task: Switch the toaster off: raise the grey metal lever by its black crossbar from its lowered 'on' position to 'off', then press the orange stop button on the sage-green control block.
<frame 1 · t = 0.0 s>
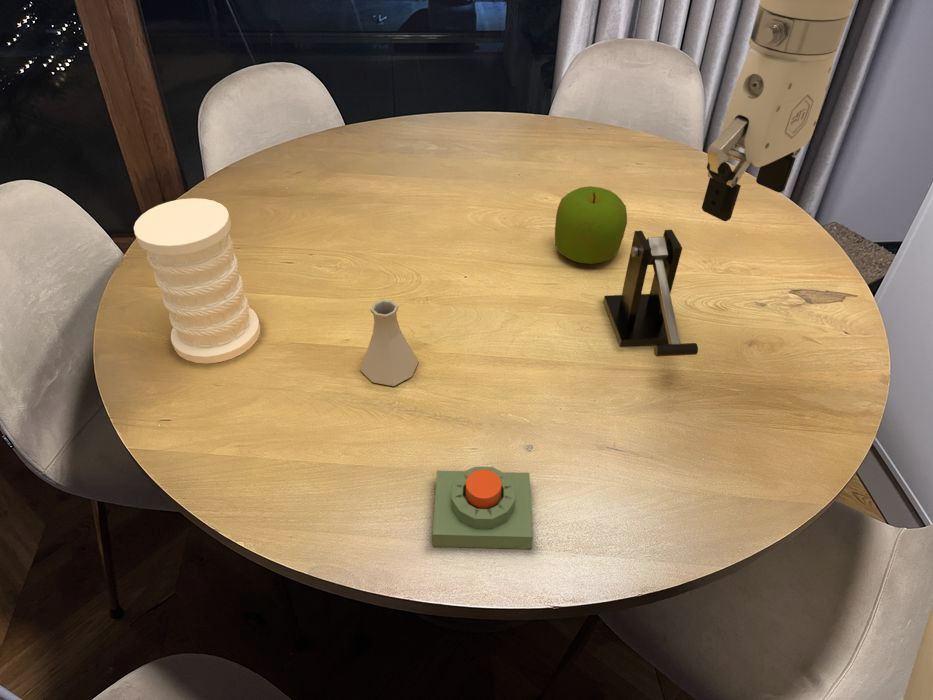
hand: (743, 200, 72), 25 cm above the table, tool pointing down, fingers open, 9 cm apart
decorative container: (217, 336, 93), on the table
button block: (482, 514, 72), on the table
switch bracket: (638, 322, 96), on the table
flask: (389, 368, 88), on the table
stop button: (483, 488, 69), point 4 cm above the table, slide at 0.1 cm
lever: (664, 296, 85), point 9 cm above the table, hinge at -25.0°
apple: (586, 253, 109), on the table
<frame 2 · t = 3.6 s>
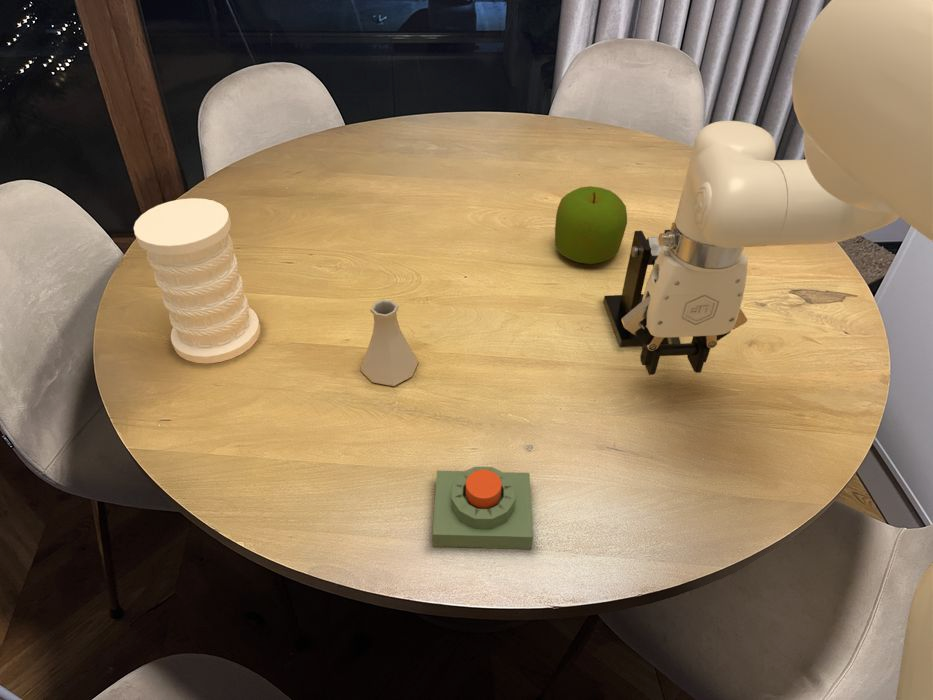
hand: (671, 365, 84), 4 cm above the table, tool pointing down, fingers closed on lever, 5 cm apart
lever: (664, 296, 85), point 9 cm above the table, hinge at -25.0°, touching gripper
everything else where it was.
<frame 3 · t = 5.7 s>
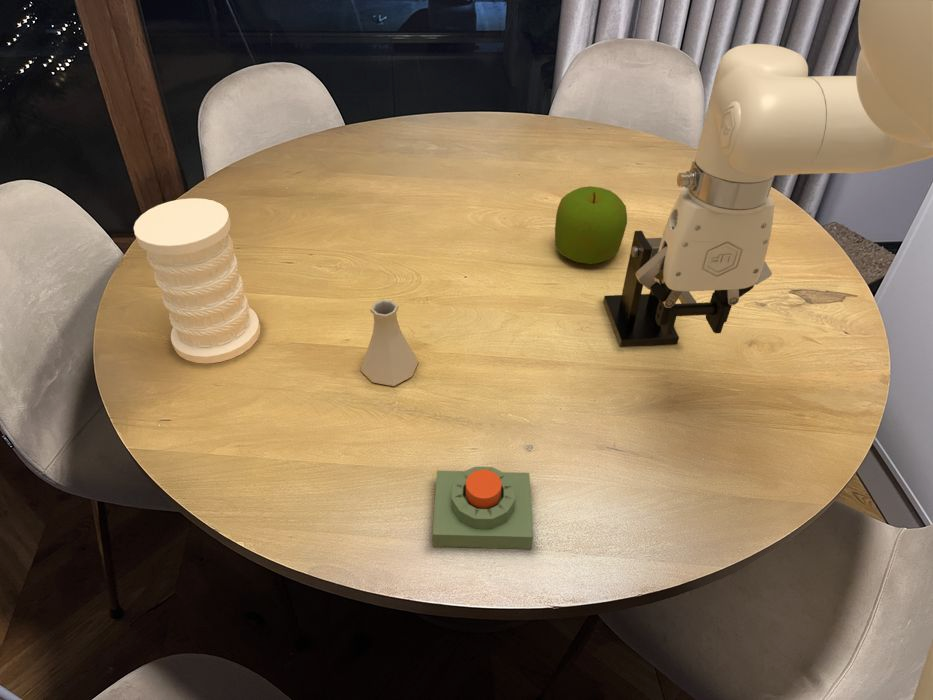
hand: (688, 325, 78), 11 cm above the table, tool pointing down, fingers closed on lever, 5 cm apart
lever: (672, 276, 82), point 13 cm above the table, hinge at 5.5°, touching gripper
everything else where it was.
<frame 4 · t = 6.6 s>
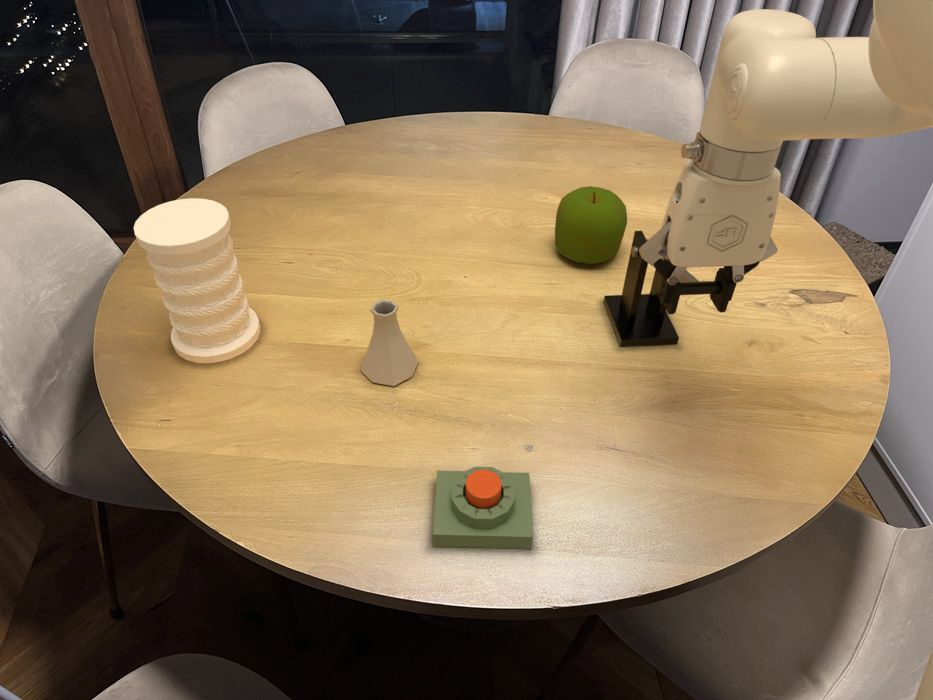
hand: (692, 304, 77), 14 cm above the table, tool pointing down, fingers closed on lever, 5 cm apart
lever: (673, 267, 82), point 14 cm above the table, hinge at 16.3°, touching gripper
everything else where it was.
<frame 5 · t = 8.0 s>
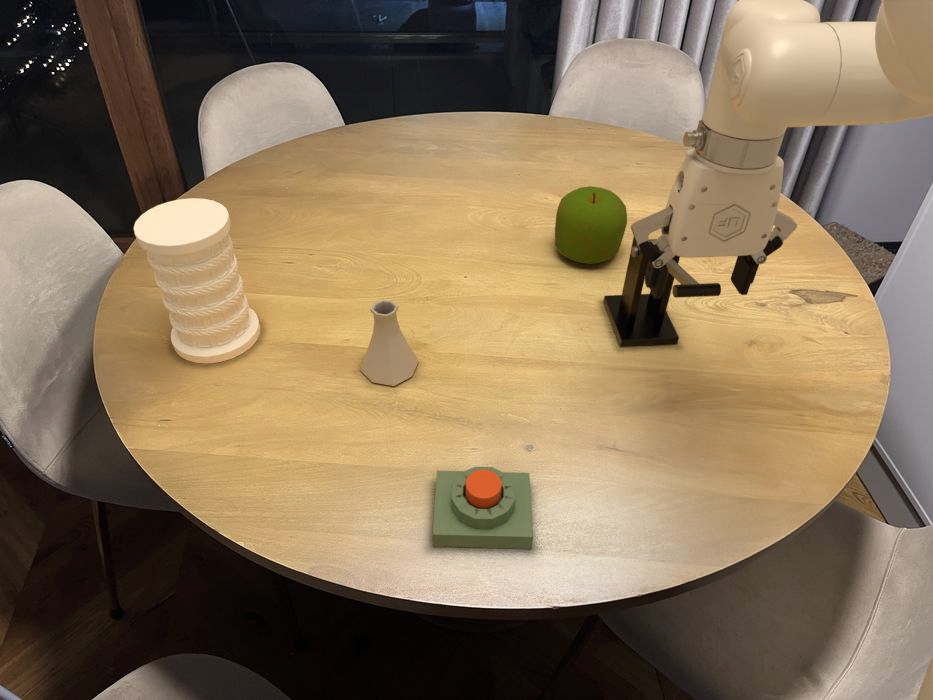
hand: (696, 289, 75), 16 cm above the table, tool pointing down, fingers open, 9 cm apart
lever: (673, 268, 82), point 14 cm above the table, hinge at 15.3°
everything else where it was.
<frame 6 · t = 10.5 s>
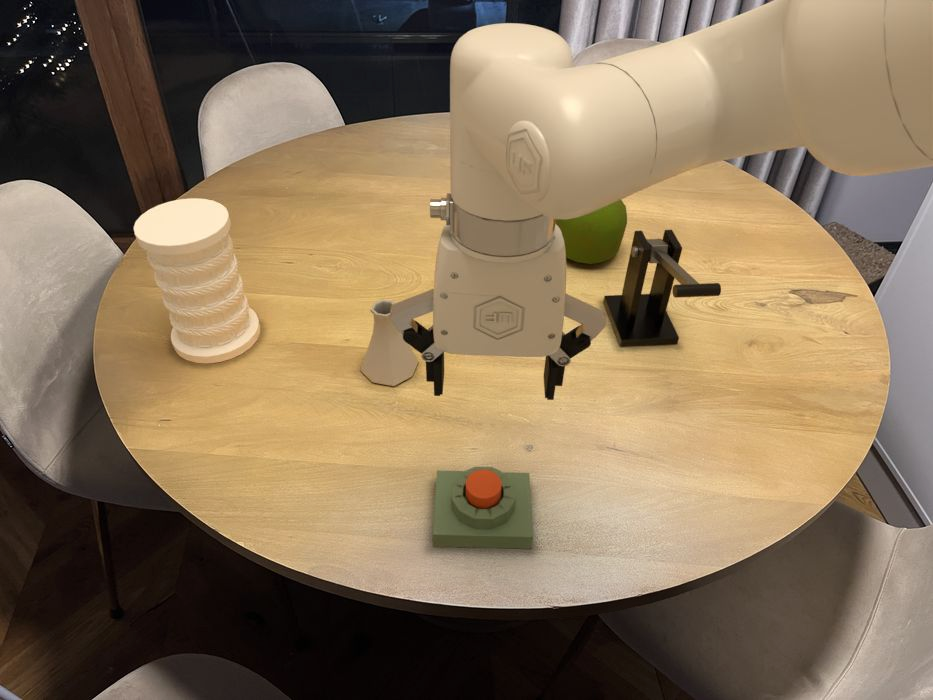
hand: (493, 386, 60), 19 cm above the table, tool pointing down, fingers open, 9 cm apart
nothing on the table moved.
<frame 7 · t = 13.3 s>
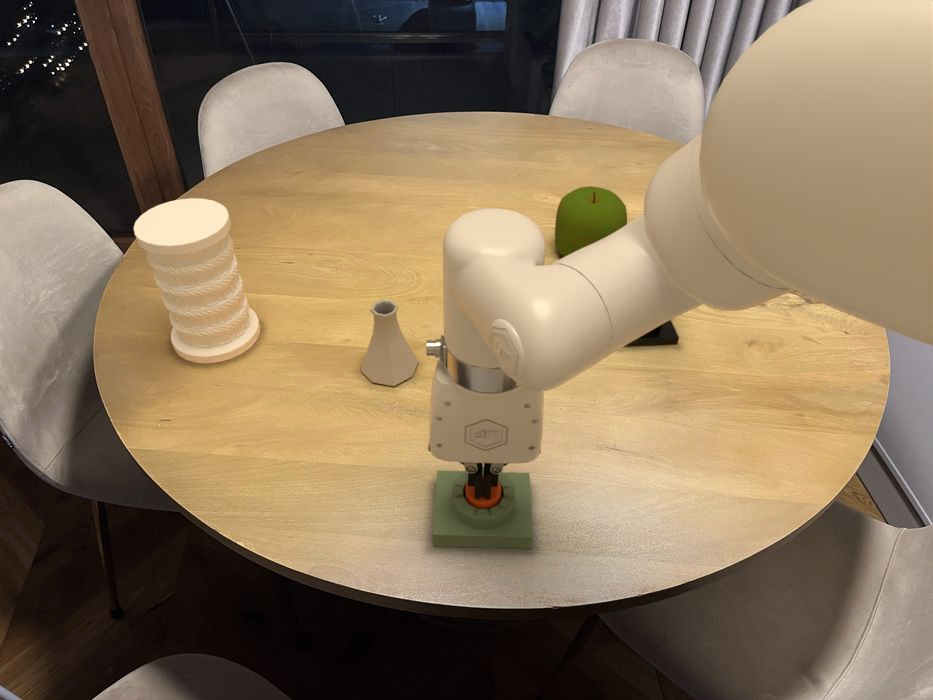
hand: (482, 487, 69), 5 cm above the table, tool pointing down, fingers closed
stop button: (483, 493, 69), point 4 cm above the table, slide at -0.7 cm, touching gripper
everything else where it was.
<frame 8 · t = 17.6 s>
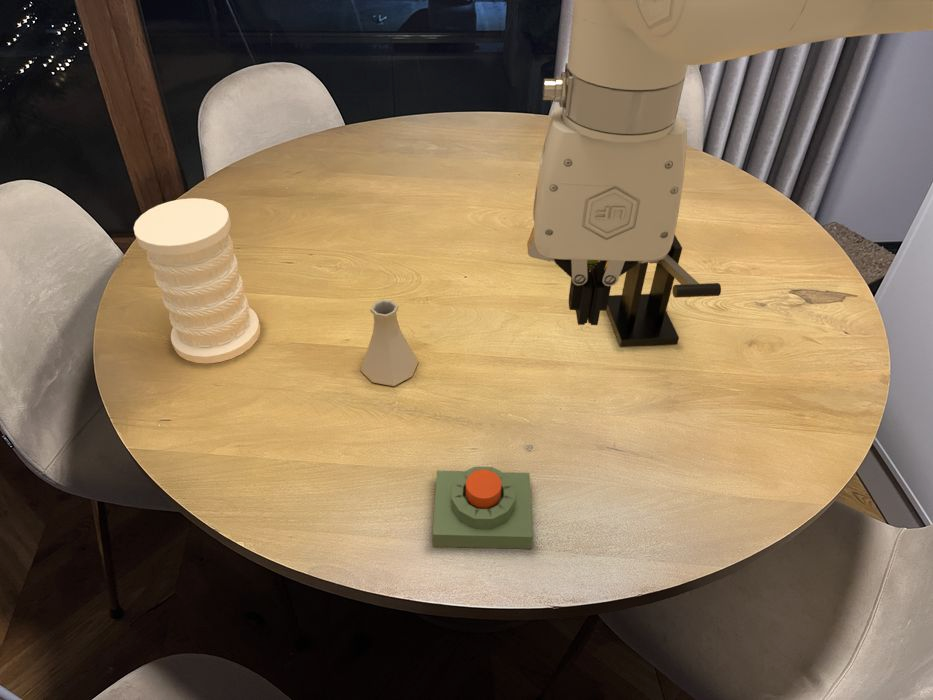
hand: (585, 314, 57), 25 cm above the table, tool pointing down, fingers closed
stop button: (483, 488, 69), point 4 cm above the table, slide at 0.1 cm
everything else where it was.
at the end: lever at +15° (first picture: -25°); stop button pushed in 1.1 cm at the most during the clip, back to where it started at the end; stop button slide at 0.1 cm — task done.
